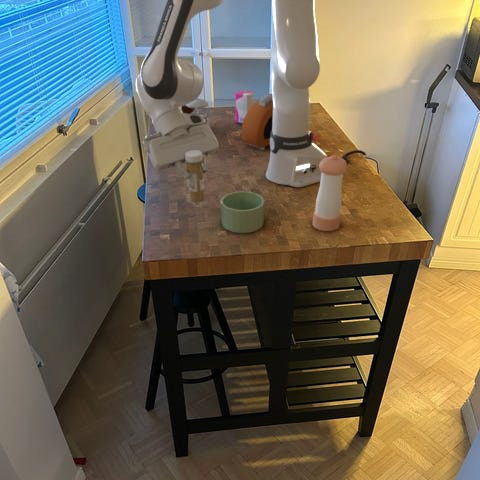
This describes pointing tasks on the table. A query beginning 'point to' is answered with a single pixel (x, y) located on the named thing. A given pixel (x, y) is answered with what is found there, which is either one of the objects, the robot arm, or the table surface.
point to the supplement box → (243, 104)
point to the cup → (242, 211)
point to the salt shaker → (329, 194)
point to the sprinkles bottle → (195, 175)
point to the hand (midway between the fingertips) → (196, 174)
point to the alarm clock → (259, 123)
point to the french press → (200, 104)
